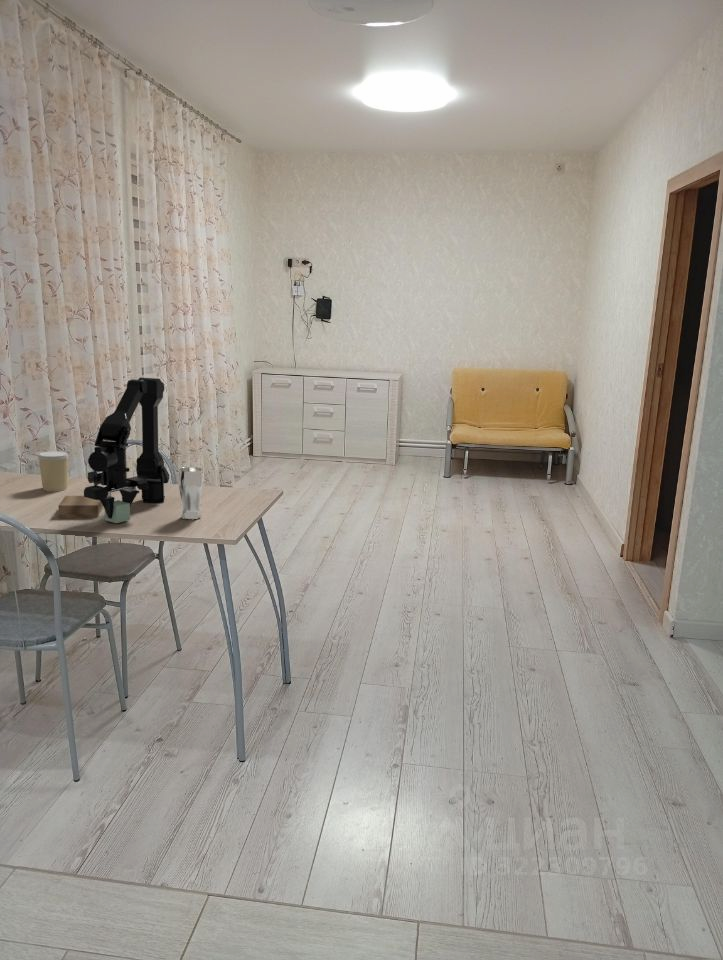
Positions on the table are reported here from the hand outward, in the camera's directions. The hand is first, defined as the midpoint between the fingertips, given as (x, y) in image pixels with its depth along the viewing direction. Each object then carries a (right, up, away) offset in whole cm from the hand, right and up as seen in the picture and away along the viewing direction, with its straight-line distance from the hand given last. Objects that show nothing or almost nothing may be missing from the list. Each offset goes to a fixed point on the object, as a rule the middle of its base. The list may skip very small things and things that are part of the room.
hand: (117, 516), depth 220 cm
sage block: (0, -1, 0) cm, 1 cm away
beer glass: (+20, -1, +8) cm, 21 cm away
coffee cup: (-32, +8, +32) cm, 46 cm away
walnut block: (-14, +1, +8) cm, 16 cm away
